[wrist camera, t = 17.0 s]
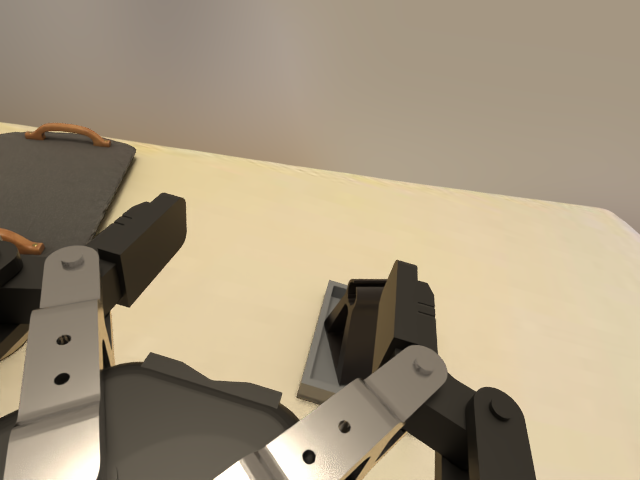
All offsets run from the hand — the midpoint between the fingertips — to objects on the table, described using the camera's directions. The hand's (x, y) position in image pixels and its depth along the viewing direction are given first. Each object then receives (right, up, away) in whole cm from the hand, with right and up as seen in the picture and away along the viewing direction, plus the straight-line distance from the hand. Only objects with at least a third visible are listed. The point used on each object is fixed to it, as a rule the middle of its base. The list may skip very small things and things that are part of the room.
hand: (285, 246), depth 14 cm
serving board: (-44, +7, +45) cm, 63 cm away
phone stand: (+5, -14, +33) cm, 36 cm away
